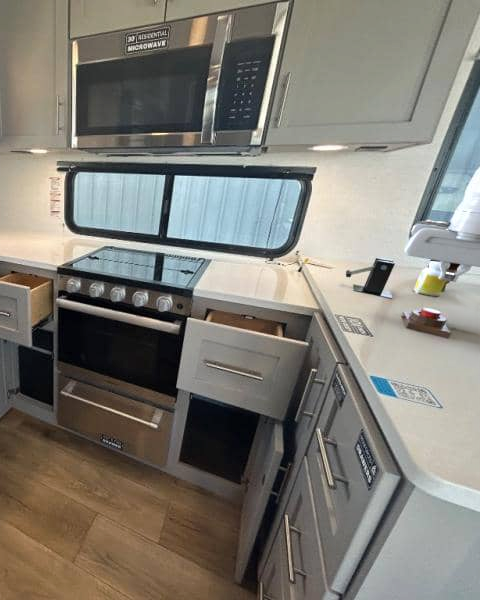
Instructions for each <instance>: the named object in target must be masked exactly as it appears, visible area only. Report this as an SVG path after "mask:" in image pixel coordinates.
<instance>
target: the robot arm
mask: <svg viewBox="0 0 480 600" xmlns="http://www.w3.org/2000/svg"><path fill="white" fill-rule="evenodd" d="M410 235H411V236H410V237H409V239H408V240H407V242H406V244H405V246H404V248H403V252H404V255H406V256H408V257H413V258H419V259H427V260H431V259H432V260H438V261H440V263H439V266H440V270H441V273H440V275H439V279H441V280H447V281H450V282H453V283H456V282H457V281H458V279H459V277H460V276H462V275H464V274H465V273H467V272H469V271H470V270H471V268H472V267H475V268H480V166H478V168H477V169H476V171H475V172H474V174H473V176H472V178H471V179H470V181H469V183H468V185H467V187H466V189H465V191H464V197H463V199H462V201H461V203H460V204H459V205H458V206H457V207H456V208H455V211H454V213H453V215H452V217H451V219H450V221H441V220H440V221H437V220H432V219H425V220H422V221H417V222H416V223H415V224H414V225H413V227H412V228H411V230H410ZM450 263H457V264H461V265H460V266H459V268H460V269H457V272H455V273H448V272H446V269H445V266H447V267H448V266H449V264H450Z"/></svg>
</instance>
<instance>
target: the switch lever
mask: <svg viewBox="0 0 480 600" xmlns="http://www.w3.org/2000/svg"><path fill="white" fill-rule="evenodd" d="M386 262H388V261H386ZM373 268H374V266H373V265H371V266H369V267H364V268H360V269H355V270H350V269H347V270H346V271H345V277H346V278H351V277H352V276H353V275H358V274H362V273H365V272H370V271H371V270H373Z"/></svg>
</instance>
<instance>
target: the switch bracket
mask: <svg viewBox="0 0 480 600" xmlns="http://www.w3.org/2000/svg"><path fill="white" fill-rule="evenodd" d="M386 261H388V262H386ZM395 265H396V263H395V262H394V260H393V259H387V258H380V257H375V259H374V262H373V264H372V266H374V268H373V270H371V271H369V273H368V275H367V278H366V281H365V283H364V285H359V284H355V283H353V284H352V287H353V292H355V293H356V292H357V293H361V294H367V295H370V296H371V295H372V296H376V297H381V298H386V299H390V300H393V296H392V293H391V291H389V290H384V289H385V287H386V285H387V282H388V280H389V278H390V276H391V274H392V272H393V269H394V267H395Z"/></svg>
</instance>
